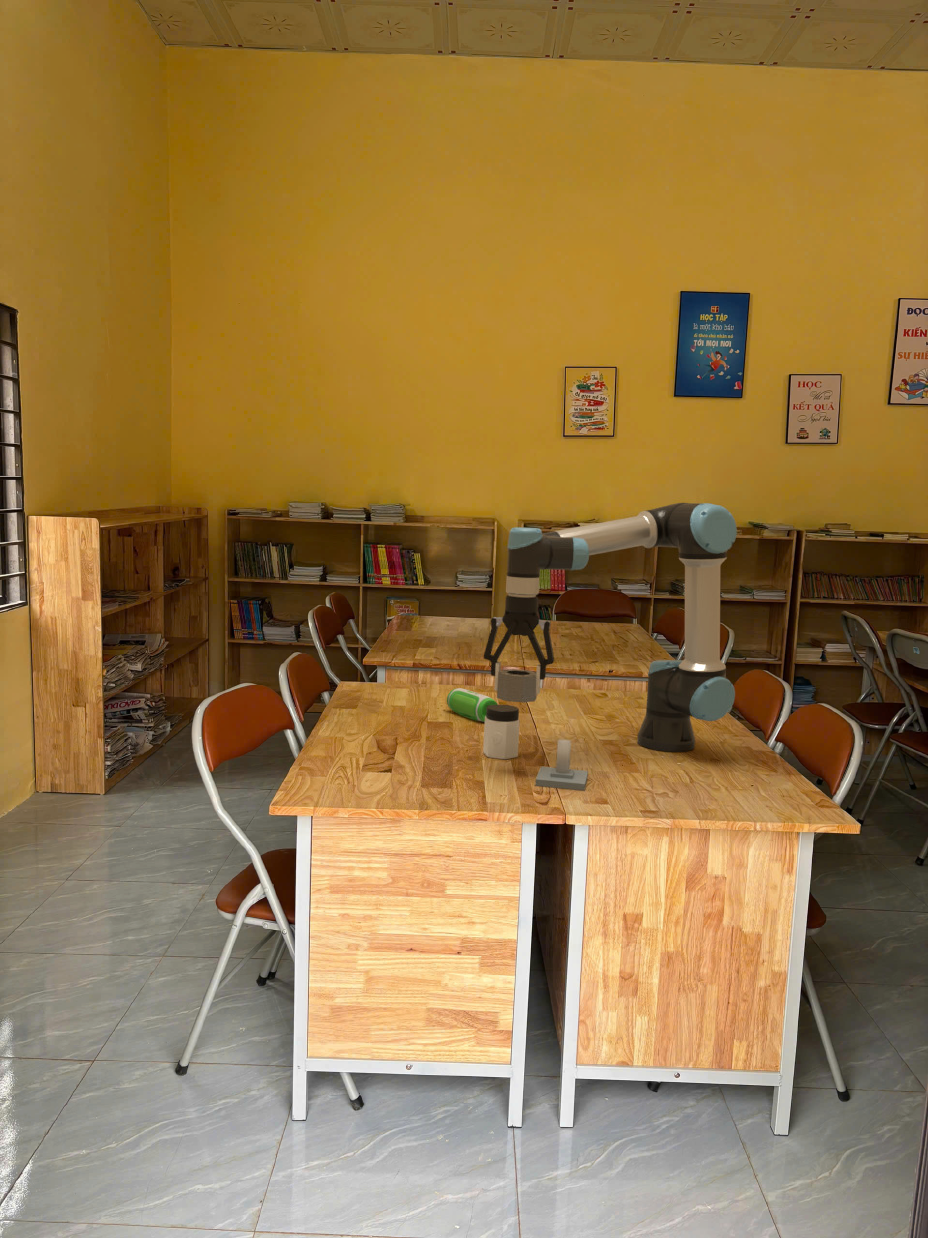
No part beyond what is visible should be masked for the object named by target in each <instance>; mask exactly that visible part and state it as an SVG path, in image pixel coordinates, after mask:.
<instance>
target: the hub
mask: <svg viewBox="0 0 928 1238" xmlns="http://www.w3.org/2000/svg"><path fill="white" fill-rule="evenodd" d="M536 674H537V671H536V672H535V671H532V670H528V669H527V670H526V669H516V668H509V669H500V671H499V672H498V688H497V691H496V698H497V699H499V700H502V701H505V702H512V703H513V702H514V703H531V702H534V703H535V701H536V699H537V696H538V694H535V693H536Z"/></svg>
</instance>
